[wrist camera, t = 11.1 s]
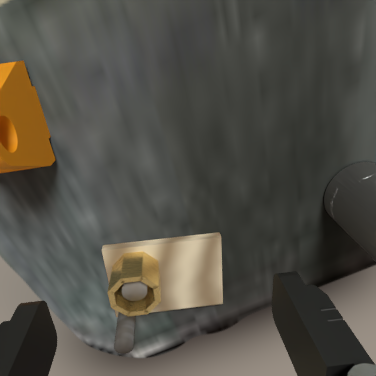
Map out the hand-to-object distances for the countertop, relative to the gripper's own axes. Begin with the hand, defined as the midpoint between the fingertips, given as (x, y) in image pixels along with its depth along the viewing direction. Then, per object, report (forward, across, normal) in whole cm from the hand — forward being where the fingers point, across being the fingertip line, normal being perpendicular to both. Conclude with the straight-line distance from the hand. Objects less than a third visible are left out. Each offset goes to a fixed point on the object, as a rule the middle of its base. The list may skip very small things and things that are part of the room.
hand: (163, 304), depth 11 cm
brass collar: (+27, +5, +20) cm, 34 cm away
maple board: (+28, +1, +22) cm, 36 cm away
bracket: (+28, +16, -2) cm, 33 cm away
